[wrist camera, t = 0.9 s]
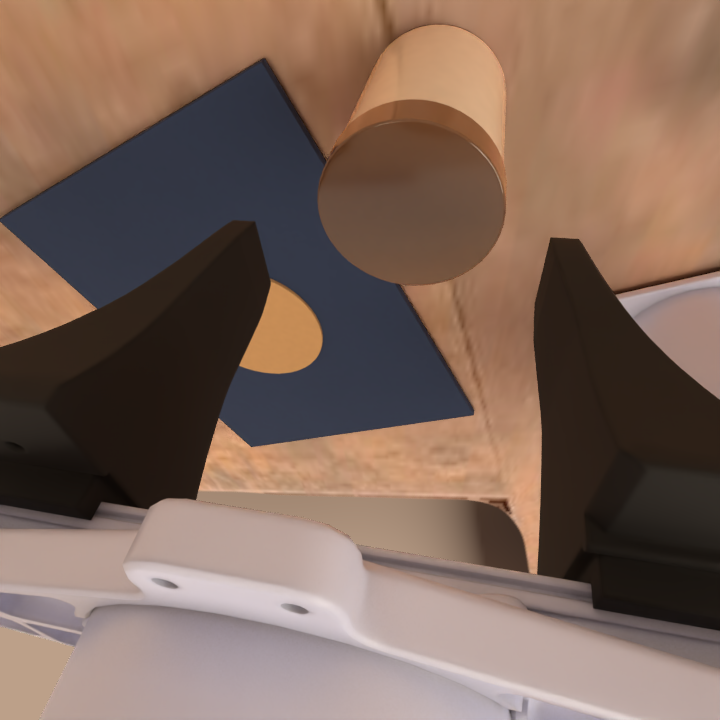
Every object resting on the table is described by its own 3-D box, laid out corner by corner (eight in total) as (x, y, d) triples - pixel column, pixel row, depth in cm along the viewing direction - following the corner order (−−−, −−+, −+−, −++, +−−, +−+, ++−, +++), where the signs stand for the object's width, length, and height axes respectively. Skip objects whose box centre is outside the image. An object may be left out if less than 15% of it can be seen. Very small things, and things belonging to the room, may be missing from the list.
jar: (527, 137, 19) (530, 258, 15) (401, 186, 22) (370, 303, 17) (479, -13, 16) (463, 81, 12) (339, 64, 19) (280, 167, 14)
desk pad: (474, 410, 32) (473, 417, 32) (252, 442, 41) (250, 449, 41) (264, 57, 19) (259, 63, 19) (2, 215, 28) (-5, 222, 27)
